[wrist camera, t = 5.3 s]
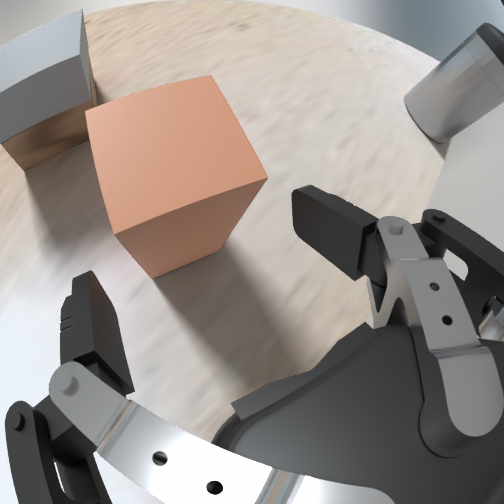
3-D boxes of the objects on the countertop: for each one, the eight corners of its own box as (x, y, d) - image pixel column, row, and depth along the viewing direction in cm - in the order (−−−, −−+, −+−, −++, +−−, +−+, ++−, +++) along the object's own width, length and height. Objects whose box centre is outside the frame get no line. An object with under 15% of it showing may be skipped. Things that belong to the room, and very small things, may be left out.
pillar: (191, 188, 19) (211, 75, 9) (219, 250, 19) (268, 177, 9) (127, 213, 18) (85, 111, 7) (151, 279, 17) (113, 234, 7)
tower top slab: (88, 46, 15) (82, 8, 11) (91, 100, 14) (79, 54, 10) (11, 81, 13) (-3, 49, 8) (0, 144, 12) (-26, 110, 8)
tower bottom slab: (94, 79, 19) (87, 46, 15) (103, 133, 19) (92, 98, 14) (25, 110, 17) (10, 82, 13) (24, 171, 16) (1, 144, 12)
